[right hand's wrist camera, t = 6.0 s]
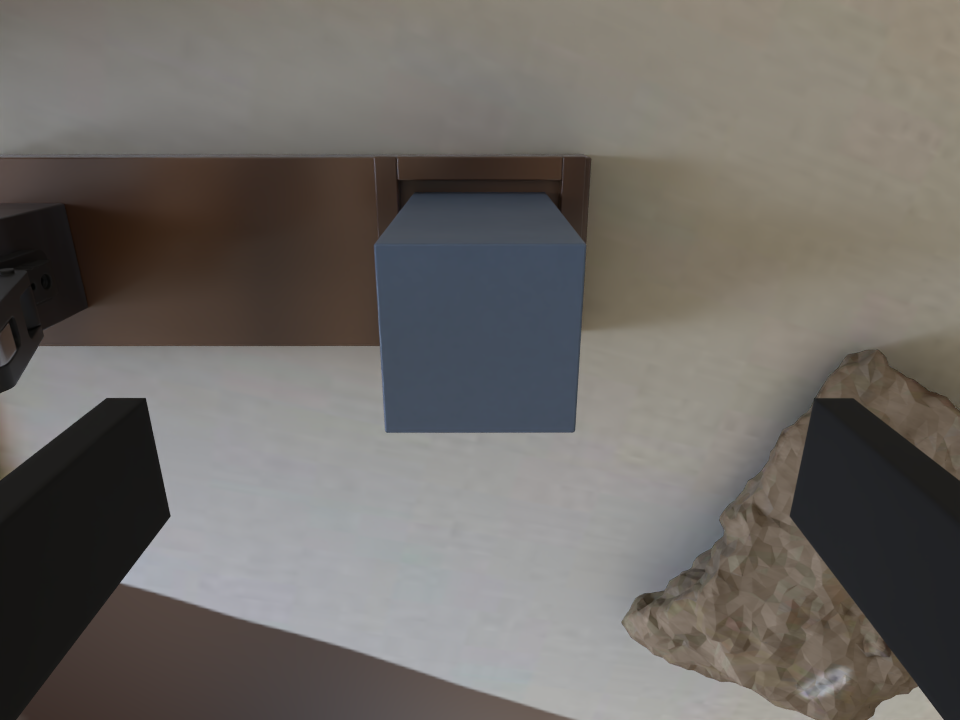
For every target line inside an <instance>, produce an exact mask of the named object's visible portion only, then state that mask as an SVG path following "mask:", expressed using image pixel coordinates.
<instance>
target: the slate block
mask: <svg viewBox="0 0 960 720" xmlns="http://www.w3.org/2000/svg"><path fill="white" fill-rule="evenodd" d="M374 255H375V272H376V288H377V304H378V321H379V337H380V354H381V370H382V386H383V403H384V419H385V431H386V432H387V433H493V432H574V431H575V424H576V407H577V391H578V374H579V358H580V341H581V325H582V309H583V292H584V276H585V259H586V244H585V242H584V241H583V240H582V239H581V237H580V236H579V235H578V233H577V232H576V231H575V230H574V228H573V227H572V226H571V225H570V223H569V222H568V221H567V219H566V218H565V217H564V216H563V214H562V213H561V212H560V211H559V209H558V208H557V207H556V205H555V204H554V203H553V202H552V200H551V199H550V198H549V197H548V195H547V194H546V193H545V192H415V193H414V194H413V195H412V196H411V198H410V199H409V200H408V201H407V203H406V204H405V205H404V207H403V208H402V209H401V210H400V212H399V213H398V214H397V216H396V217H395V218H394V220H393V221H392V222H391V223H390V225H389V226H388V227H387V229H386V230H385V231H384V232H383V234H382V235H381V236H380V238H379V239H378V240H377V241H376V243H375V244H374Z"/></svg>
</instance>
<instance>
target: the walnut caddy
mask: <svg viewBox="0 0 960 720" xmlns="http://www.w3.org/2000/svg"><path fill="white" fill-rule="evenodd" d="M590 171H591V158H590V157H588V156H586V155H583V154H440V155H0V257H1V256H4V255H7V254H10V253H14V252H17V251H20V250H42V251H43V252H44V253H45V254H46V255H47V258H48V260H50V261H51V265H52V269H53V273H54V277H55V281H56V285H57V289H58V294H57V295H56V296H54V298H53V299H52V300H51V301H49V302H47V303H45V304H43V305H40V306H38V307H37V311H38V315H39V318H40V322H41V326H42V330H43V334H44V337H43V339H42V341H41V342H40V344H39V346H380V337H379V321H378V304H377V288H376V272H375V255H374V244H375V243H376V241H377V240H378V239H379V238H380V236H381V235H382V234H383V232H384V231H385V230H386V229H387V227H388V226H389V225H390V223H391V222H392V221H393V220H394V218H395V217H396V216H397V214H398V213H399V212H400V210H401V209H402V208H403V207H404V205H405V204H406V203H407V201H408V200H409V199H410V198H411V196H412V195H413V194H414V193H415V192H545V193H546V194H547V195H548V197H549V198H550V199H551V200H552V202H553V203H554V204H555V205H556V207H557V208H558V209H559V211H560V212H561V213H562V214H563V216H564V217H565V218H566V219H567V221H568V222H569V223H570V225H571V226H572V227H573V228H574V230H575V231H576V232H577V233H578V235H579V236H580V237H581V239H582V240H583V241H584V242H585V244H586V237H587V220H588V204H589V187H590Z"/></svg>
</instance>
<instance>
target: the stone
mask: <svg viewBox="0 0 960 720" xmlns="http://www.w3.org/2000/svg"><path fill="white" fill-rule="evenodd" d="M816 398H854V399H855V400H856V401H858V402H859V403H860V404H862V405H863V406H864V407H865V408H867V409H868V410H869V411H871V412H872V413H873V414H874V415H876V416H877V417H878V418H880V419H881V420H882V421H883V422H885V423H886V424H887V425H889V426H890V427H891V428H892V429H894V430H895V431H896V432H898V433H899V434H900V435H902V436H903V437H904V438H905V439H907V440H908V441H909V442H911V443H912V444H913V445H914V446H916V447H917V448H918V449H920V450H921V451H922V452H923V453H925V454H926V455H927V456H929V457H930V458H931V459H932V460H934V461H935V462H936V463H938V464H939V465H940V466H941V467H943V468H944V469H945V470H947V471H948V472H949V473H951V474H952V475H953V476H954V477H956V478H957V479H958V480H960V411H959V410H957V409H956V407H955V406H954V405H953V404H952V403H951V402H950V401H949V399H948V398H947V397H945V396H942V395H939V394H937V393H935V392H930V391H928V390H927V389H926V388H924V387H923V386H922V385H920V384H919V383H918V382H916V381H915V380H913V379H910V378H907V377H905V376H904V375H903V374H902V373H900V372H898V371H897V370H895V369H893V368H891V367H890V366H888V362H887V358H886V357H885V356H884V355H883V354H882V353H881V352H880V351H879V350H866V351H862V352H859V353H854V354H849V355H847V356H846V357H845V358H844V360H843V361H842V363H841V364H840V366H839V368H838V369H836V370H835V371H834V372H833V373H832V374H831V375H830V376H829V377H828V379H827V380H826V382H825V383H824V385H823V386H822V388H821V389H820V391H819V393H818V394H817V396H816ZM813 402H814V401H813ZM812 407H813V404H812V406H811V408H810V409H809V410H808V411H807V413H806V414H804V415H802V416H801V417H800V418H799V419H798V420H797V421H796V423H795V424H793V425H791V426H789V427H787V428H785V429H783V430H782V433H781V435H780V437H779V439H778V441H777V443H776V446H775V448H774V449H773V450H772V451H771V452H770V457H769V461H768V462H767V464H766V465H765V466H764V468H763V469H762V471H761V472H760V473H759V474H758V475H756V476H755V477H754V478H752V479H750V480H749V481H748V482H747V484H746V486H745V488H744V490H743V491H742V492H741V494H740V495H739V496H738V497H737V499H736V500H735V501H734V502H732V503H730V504H729V505H728V506H727V508H726V509H725V510H724V512H723V513H722V514H721V516H720V520H719V521H720V523H721V525H722V527H723V528H724V530H725V531H724V536H723V537H722V538H721V539H719V540H718V541H717V542H715V544H714V546H713V548H711V549H710V550H708V551H706V552H704V553H702V554H701V555H699V556H698V557H697V558H696V559H695V561H694V562H693V565H692V568H691V569H689V570H687V571H684V572H681V574H680V575H679V576H677V577H675V578H674V579H672V580H670V581H669V583H668V585H667V587H666V589H665V590H664V591H660V592H654V593H644V594H642V595H640V596H638V597H637V598H636V599H635V600H634V602H633V604H632V606H631V608H630V610H629V612H628V613H627V614H626V615H625V617H624V619H623V620H622V625H623V626H624V627H625V628H626V630H627V632H628V633H629V635H630V636H631V638H633V639H634V640H635V641H637V642H638V643H640V644H641V645H643V646H644V647H646V648H647V649H648V650H650V651H651V652H652V653H653V654H654V655H656V656H659V657H662V658H664V659H665V660H666V661H667V662H669V663H670V664H673V665H677V666H680V667H683V668H685V669H687V670H695V671H696V672H698V673H700V674H702V675H704V676H706V677H708V678H712V679H715V680H718V681H720V682H733V683H737V684H739V685H740V686H743V687H746V688H749V689H752V690H753V691H755V692H756V693H758V694H760V695H761V696H763V697H764V698H766V699H767V700H768V701H769V702H771V703H772V704H774V705H775V706H778V707H781V708H784V709H789V710H795V711H798V712H800V713H802V714H804V715H806V716H809V717H811V718H813V719H816V720H867V719H869V718H870V717H872V716H873V715H874V712H875V708H876V707H877V706H878V705H879V704H880V703H881V702H882V701H884V700H887V699H890V698H892V697H894V696H895V695H899V694H909V692H910V691H911V690H912V689H913V688H915V687H918V685H917V684H916V682H915V681H914V680H913V678H912V677H911V676H910V674H909V673H908V672H907V670H906V669H905V668H904V667H903V665H902V664H901V663H900V661H899V660H898V659H897V657H896V656H895V655H894V653H893V652H892V651H891V649H890V648H889V647H888V645H887V644H886V643H885V641H884V640H883V639H882V638H881V636H880V635H879V634H878V632H877V631H876V630H875V628H874V627H873V626H872V624H871V623H870V622H869V620H868V619H867V618H866V616H865V615H864V614H863V613H862V611H861V610H860V609H859V607H858V606H857V605H856V603H855V602H854V601H853V599H852V598H851V597H850V595H849V594H848V593H847V591H846V590H845V589H844V587H843V586H842V585H841V584H840V582H839V581H838V580H837V578H836V577H835V576H834V574H833V573H832V572H831V570H830V569H829V568H828V566H827V565H826V564H825V562H824V561H823V560H822V558H821V557H820V556H819V555H818V553H817V552H816V551H815V549H814V548H813V547H812V545H811V544H810V543H809V541H808V540H807V539H806V537H805V536H804V535H803V533H802V532H801V531H800V530H799V528H798V527H797V526H796V524H795V523H794V522H793V520H792V519H791V518H790V511H791V507H792V502H793V497H794V492H795V488H796V483H797V478H798V473H799V469H800V464H801V459H802V454H803V450H804V445H805V440H806V435H807V431H808V426H809V421H810V416H811V411H812Z"/></svg>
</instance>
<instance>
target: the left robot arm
mask: <svg viewBox="0 0 960 720" xmlns="http://www.w3.org/2000/svg"><path fill="white" fill-rule="evenodd" d="M57 294H58V289H57V285H56V281H55V277H54V273H53V269H52V265H51V261H50V260H48V258H47V255H46V254H45V253H44V252H43V251H42V250H20V251H17V252H14V253H10V254H7V255H4V256H1V257H0V393H1V392H4V391H6V390H9V389H11V388H12V387H14V386H15V385H16V383H17V382H18V380H19V378H20V376H21V375H22V373H23V371H24V370H25V368H26V366H27V365H28V363H29V361H30V359H31V358H32V356H33V354H34V353H35V351H36V349H37V348H38V346H39V344H40V342H41V341H42V339H43V337H44V334H43V330H42V326H41V322H40V318H39V315H38V311H37V307H38V306H40V305H43V304H45V303H47V302H49V301H51V300H52V299H53V298H54V296H56V295H57Z"/></svg>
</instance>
